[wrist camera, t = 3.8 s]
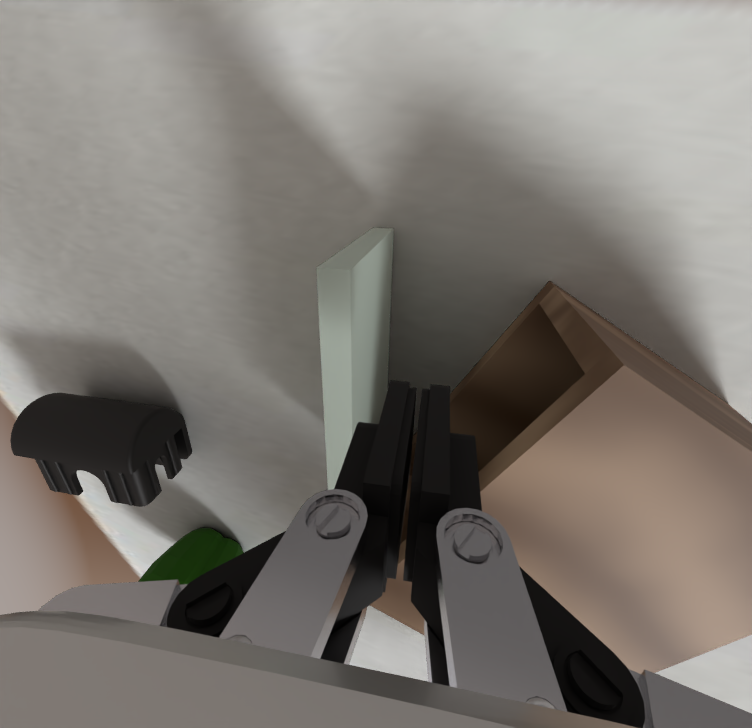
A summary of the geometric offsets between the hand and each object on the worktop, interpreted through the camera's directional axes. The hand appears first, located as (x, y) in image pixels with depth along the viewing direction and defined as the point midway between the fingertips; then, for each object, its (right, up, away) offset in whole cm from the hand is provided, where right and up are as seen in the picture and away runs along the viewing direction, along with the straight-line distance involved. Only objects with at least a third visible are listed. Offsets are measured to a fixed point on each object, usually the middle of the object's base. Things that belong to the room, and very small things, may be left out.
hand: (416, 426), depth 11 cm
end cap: (-22, -3, +23) cm, 32 cm away
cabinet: (+10, -4, +16) cm, 19 cm away
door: (-1, +2, +15) cm, 16 cm away
